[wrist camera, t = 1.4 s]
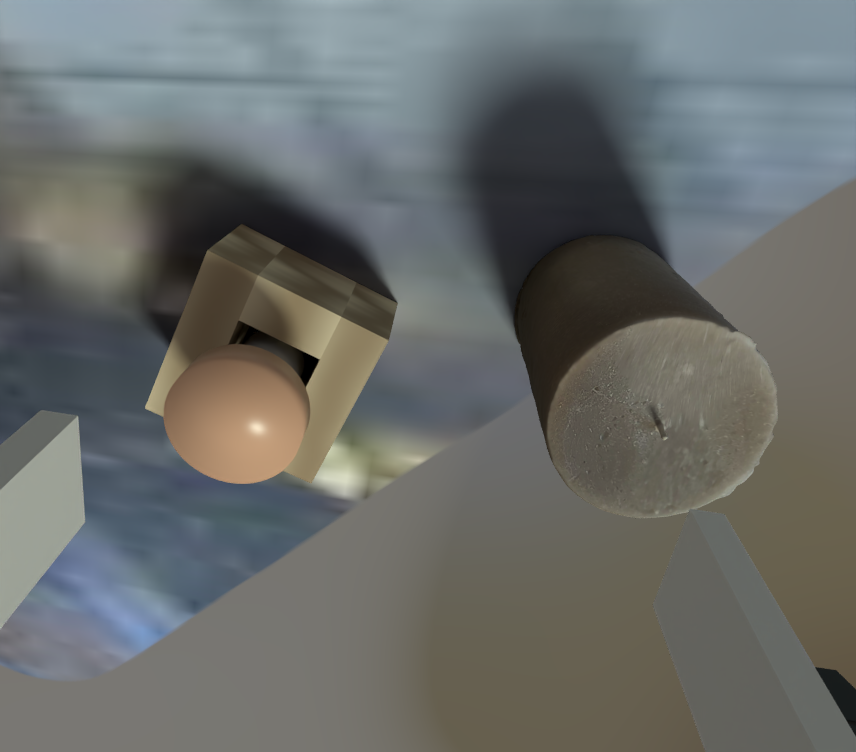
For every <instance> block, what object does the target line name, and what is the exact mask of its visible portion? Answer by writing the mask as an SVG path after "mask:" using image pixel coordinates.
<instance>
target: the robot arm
mask: <svg viewBox="0 0 856 752" xmlns="http://www.w3.org/2000/svg"><path fill="white" fill-rule="evenodd" d="M84 523H85V514H84V499H83V484H82V469H81V453H80V438H79V423H78V416H76V415H70V414H63V413H56V412H50V411H43V410H41V411H40V412H38V413H37V414H36V415H35V416H34V417H33V418H31V419H30V420H29V421H28V422H27V423H26V424H24V425H23V426H22V427H21V428H20V429H19V430H17V431H16V432H15V433H14V434H13V435H12V436H10V437H9V438H8V439H7V440H6V441H5V442H3V443H2V444H1V445H0V629H1V627H2V626H3V625H4V624H5V622H6V621H7V620H8V619H9V617H10V616H11V615H12V614H13V612H14V611H15V610H16V608H17V607H18V606H19V605H20V603H21V602H22V601H23V600H24V598H25V597H26V596H27V595H28V593H29V592H30V591H31V590H32V588H33V587H34V586H35V585H36V583H37V582H38V581H39V579H40V578H41V577H42V576H43V574H44V573H45V572H46V571H47V569H48V568H49V567H50V566H51V564H52V563H53V562H54V561H55V559H56V558H57V557H58V556H59V554H60V553H61V552H62V550H63V549H64V548H65V547H66V545H67V544H68V543H69V542H70V540H71V539H72V538H73V537H74V535H75V534H76V533H77V532H78V530H79V529H80V528H81V527H82V525H83V524H84ZM653 608H654V611H655V613H656V616H657V619H658V622H659V625H660V627H661V630H662V632H663V635H664V638H665V641H666V644H667V647H668V649H669V652H670V655H671V658H672V660H673V663H674V666H675V668H676V672H677V674H678V677H679V680H680V682H681V685H682V688H683V691H684V693H685V696H686V699H687V702H688V705H689V707H690V710H691V713H692V716H693V719H694V721H695V724H696V727H697V730H698V732H699V735H700V738H701V741H702V743H703V746H704V749H705V751H706V752H856V689H855V688H854V687H853V686H852V685H851V684H850V683H848V681H847V680H846V679H845V678H844V677H843V676H841V674H839V673H838V672H837V671H836V670H830V669H824V668H817V667H814V665H813V663H812V662H811V660H810V658H809V657H808V655H807V653H806V651H805V650H804V648H803V646H802V645H801V643H800V641H799V640H798V638H797V636H796V635H795V633H794V631H793V629H792V628H791V626H790V624H789V623H788V621H787V619H786V618H785V616H784V614H783V612H782V611H781V609H780V607H779V606H778V604H777V602H776V601H775V599H774V597H773V596H772V594H771V592H770V591H769V589H768V587H767V585H766V584H765V582H764V580H763V579H762V577H761V575H760V574H759V572H758V570H757V569H756V567H755V565H754V563H753V562H752V560H751V559H750V557H749V555H748V553H747V552H746V550H745V548H744V546H743V545H742V543H741V542H740V540H739V538H738V536H737V535H736V533H735V531H734V530H733V528H732V526H731V524H730V523H729V521H728V520H727V518H726V516H725V514H720V513H714V512H707V511H700V510H694V509H690V510H689V512H688V515H687V518H686V520H685V523H684V526H683V528H682V531H681V533H680V536H679V539H678V541H677V544H676V546H675V549H674V552H673V554H672V557H671V559H670V562H669V564H668V567H667V570H666V572H665V575H664V578H663V580H662V583H661V585H660V588H659V591H658V593H657V596H656V598H655V601H654V603H653Z"/></svg>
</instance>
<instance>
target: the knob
mask: <svg viewBox="0 0 856 752" xmlns="http://www.w3.org/2000/svg"><path fill="white" fill-rule="evenodd" d="M303 369H304V357H303V354H302V351H301V350H299V349H297V348H295V347H293V346H291V345H289V344H287V343H285V342H283V341H281V340H278V339H276V338H274V337H272V336H270V335H268V334H266V333H264V332H262V331H261V332H257V333H255V334H253V335H252V336H250V337H249V338H248V339H247V340H246V341H245V342H244V344H231V345H223V346H219V347H216V348H213V349H210V350H208V351H206V352H204V353H203V354H201V355H200V356H199V357H197V358H196V359H195V360H194V361H193V362H192V363H191V364H190V365H189V366H188V367H187V369H186V370H185V371H184V372H183V373H182V374H181V375H180V377H179V378H178V379H177V380H176V381H175V383H174V384H173V385H172V387H171V388H170V390H169V392H168V394H167V397H166V400H165V404H164V424H165V428H166V432H167V435H168V437H169V439H170V441H171V443H172V445H173V446H174V448H175V450H176V451H177V452H178V453H179V455H180V456H181V457H182V458H183V459H184V460H185V461H186V462H187V463H188V464H190V465H191V466H192V467H193V468H195V469H196V470H198V471H199V472H201V473H203V474H205V475H207V476H209V477H212V478H214V479H217V480H220V481H224V482H229V483H239V484H246V483H255V482H260V481H263V480H266V479H269V478H271V477H273V476H275V475H277V474H278V473H280V472H281V471H283V470H284V469H285V468H286V467H287V466H288V465H289V464H290V463H291V462H292V461H293V459H294V457H295V456H296V454H297V452H298V449H299V447H300V445H301V442H302V440H303V437H304V435H305V432H306V430H307V427H308V424H309V420H310V401H309V396H308V393H307V390H306V388H305V386H304V384H303V382H302V380H301V379H300V377H301V375H302V373H303Z"/></svg>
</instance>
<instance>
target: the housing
mask: <svg viewBox="0 0 856 752" xmlns="http://www.w3.org/2000/svg"><path fill="white" fill-rule="evenodd" d="M397 304H398V303H396V302H394V301H392V300H390V299H388V298H386V297H384V296H382V295H380V294H378V293H376V292H374V291H372V290H370V289H368V288H366V287H364V286H362V285H360V284H359V283H357V282H355V281H353V280H351V279H349V278H347V277H345V276H343V275H341V274H339V273H337V272H335V271H333V270H331V269H329V268H327V267H325V266H323V265H321V264H319V263H317V262H315V261H313V260H311V259H309V258H307V257H306V256H304V255H302V254H300V253H298V252H296V251H294V250H292V249H290V248H288V247H286V246H284V245H282V244H280V243H278V242H276V241H274V240H272V239H270V238H268V237H266V236H264V235H262V234H260V233H258V232H256V231H254V230H252V229H251V228H249V227H247V226H245V225H243V224H241V225H240V226H238V227H237V228H236V229H234V230H233V231H232V232H231V233H229V234H228V235H227V236H225V237H224V238H223V239H221V240H220V241H219V242H217V243H216V244H215V245H214V246H212V247H211V248H210V249H208V250H207V253H206V255H205V258H204V260H203V263H202V265H201V268H200V270H199V273H198V275H197V278H196V280H195V283H194V285H193V288H192V290H191V293H190V296H189V298H188V301H187V303H186V306H185V308H184V311H183V313H182V316H181V318H180V321H179V323H178V326H177V328H176V331H175V333H174V336H173V339H172V341H171V344H170V346H169V349H168V351H167V354H166V356H165V359H164V361H163V364H162V366H161V369H160V371H159V374H158V376H157V379H156V382H155V384H154V387H153V389H152V392H151V394H150V397H149V399H148V402H147V404H146V407H145V409H147V410H150V411H152V412H154V413H156V414H158V415H161V416H163V417H164V404H165V400H166V397H167V394H168V392H169V390H170V388H171V387H172V385H173V384H174V383H175V381H176V380H177V379H178V378H179V377H180V375H181V374H182V373H183V372H184V371H185V370H186V369H187V367H188V366H189V365H190V364H191V363H192V362H193V361H194V360H195V359H196V358H197V357H199V356H200V355H201V354H203V353H204V352H206V351H208V350H210V349H213V348H216V347H219V346H223V345H231V344H242V342H243V340H244V337H245V335H246V333H247V331H248V328H249V326H252V327H254V328H256V329H258V330H260V331H262V332H264V333H266V334H268V335H270V336H272V337H274V338H276V339H278V340H281V341H283V342H285V343H287V344H289V345H291V346H293V347H295V348H297V349H299V350H301V351H303V352H305V353H307V354H309V355H311V356H314V357H316V358H318V361H317V363H316V365H315V367H314V369H313V371H312V373H311V375H310V377H309V379H308V381H306V380H304V379H302V378H300V379H301V380H302V382H303V384H304V386H305V388H306V390H307V393H308V396H309V401H310V420H309V424H308V427H307V430H306V432H305V435H304V437H303V440H302V442H301V445H300V447H299V449H298V452H297V454H296V456H295V457H294V459H293V461H292V462H291V463H290V464H289V465H288V466H287V467H286V468H285V469H284V470H283V471H285V472H287V473H289V474H291V475H294V476H296V477H298V478H300V479H302V480H305V481H307V482H309V483H312V481H313V479H314V477H315V475H316V474H317V472H318V470H319V468H320V466H321V464H322V463H323V461H324V459H325V457H326V455H327V453H328V452H329V450H330V448H331V446H332V444H333V442H334V440H335V439H336V437H337V435H338V433H339V431H340V429H341V428H342V426H343V424H344V422H345V420H346V418H347V416H348V415H349V413H350V411H351V409H352V407H353V405H354V404H355V402H356V400H357V398H358V396H359V394H360V392H361V391H362V389H363V387H364V385H365V383H366V381H367V380H368V378H369V376H370V374H371V372H372V370H373V369H374V367H375V365H376V363H377V361H378V359H379V357H380V356H381V354H382V352H383V350H384V348H385V346H386V345H387V343H388V341H389V337H390V333H391V329H392V325H393V320H394V316H395V312H396V308H397Z"/></svg>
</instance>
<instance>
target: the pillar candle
mask: <svg viewBox="0 0 856 752" xmlns="http://www.w3.org/2000/svg"><path fill="white" fill-rule="evenodd" d="M522 287H523V288H522V289H521V290H520V292H519V295H518V298H517V303H516V307H515V331H516V335H517V339H518V342H519V344H521V346H520V347H521V351H522V356H523V359H524V361H525V364H526V368H527V371H528V375H529V379H530V384H531V389H532V393H533V396H534V399H535V402H536V407H537V411H538V415H539V420H540V423H541V427H542V430H543V433H544V437H545V441H546V445H547V449H548V452H549V455H550V458H551V460H552V462H553V464H554V466H555V468H556V470H557V471H558V473H559V474H560V476H561V477H562V479H563V481H564V482H565V483H566V485H567V486H568V487H569V488H570V489H571V490H572V491H573V492H574V493H576V494H577V495H578V496H579V497H581V498H582V499H583V500H585V501H586V502H588V503H590V504H592V505H593V506H595V507H597V508H599V509H602V510H604V511H607V512H610V513H614V514H617V515H622V516H629V517H634V518H652V517H666V516H670V515H675V514H680V513H685V512H688V511H689V510H690V509H694V510H695V509H697V508H699V507H701V506H703V505H705V504H708V503H710V502H712V501H714V500H716V499H718V498H723V497H724V496H727V495H729V494H731V493H732V492H733V490H735V487H736V486H737V485H739V484H741V483H743V482H744V481H745V480H746V479H747V478H748V477H749V476H751V474H752V473H753V470H754V467H755V466H757V465H758V464H759V459H760V457H761V456H762V454H763V452H764V450H765V448H766V447H767V446H768V444H769V443H770V442H771V441H772V438H773V437H774V434H773V433H772V429H773V427H774V425H775V424H776V422H777V419H778V412H777V397H776V391H777V386H776V384H775V381H774V379H773V375H772V373H771V371H770V368H769V365H768V363H767V361H766V360H765V358H764V357H763V356H762V355H761V354H760V352H759V351H758V350H757V349H756V348H755V346H756V344H757V343H755V342H753V341H752V339H751V337H749V336H747V335H746V334H744V333H742V332H740V331H738V330H737V329H736V328H735V327H733V326H732V325H731V324H730V323H729V322H728V321H727V320H725V319H724V317H723V315H722V314H720V313H719V312H718V311H716V310H715V309H714V307H713V306H711V304H710V303H709V302H708V301H706V300H705V299H704V298H703V297H702V296H701V295H700V294H699V293H698V292H697V291H696V290H695V289H694V288H693V287H692V286H690V284H689V283H687V282H686V281H685V280H684V279H683V278H682V277H681V276H680V275H678V274H677V273H676V272H675V271H674V270H673V269H672V268H671V266H670V265H668V264H667V263H666V262H665V261H664V260H663V259H662V258H660V257H659V255H658V254H656V253H655V252H653V251H651V250H650V249H648V248H647V247H646V246H645V245H643V244H642V243H640V242H637V241H634V240H631V239H628V238H624V237H620V236H613V235H596V236H594V235H590V236H586V237H584V238H580V239H576V240H573V241H570V242H568V243H566V244H564V245H562V246H560V247H558V248H556V249H554V250H553V251H551V252H550V253H549V254H547V255H546V256H545V257H544V258H542V259H541V260H540V261H539V262H538V263H537V264H536V265H535V267H534V268H533V269H532V270H531V272H530V273H529V275H528V276H527V278H526V279H525V281H524V282H523V286H522Z"/></svg>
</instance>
